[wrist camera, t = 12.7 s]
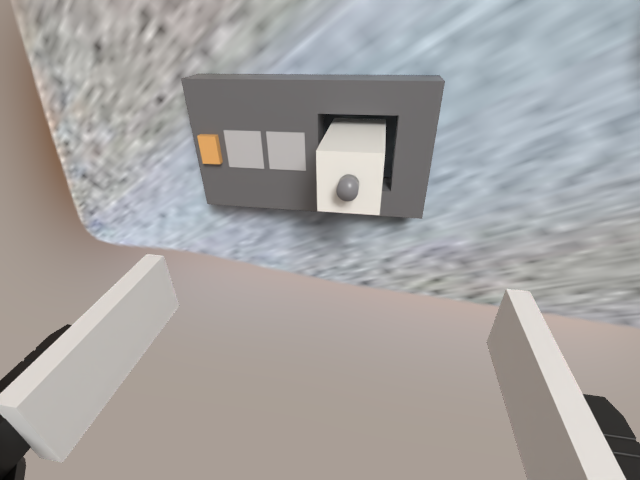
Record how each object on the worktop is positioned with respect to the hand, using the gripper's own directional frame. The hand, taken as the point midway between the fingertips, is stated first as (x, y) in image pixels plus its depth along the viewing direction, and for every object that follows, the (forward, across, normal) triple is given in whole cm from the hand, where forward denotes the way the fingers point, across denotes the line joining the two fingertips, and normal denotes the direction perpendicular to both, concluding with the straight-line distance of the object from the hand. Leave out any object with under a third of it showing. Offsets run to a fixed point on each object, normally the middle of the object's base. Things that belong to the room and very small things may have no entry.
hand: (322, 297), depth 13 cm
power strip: (+20, +4, 0) cm, 21 cm away
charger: (+20, 0, 0) cm, 20 cm away
